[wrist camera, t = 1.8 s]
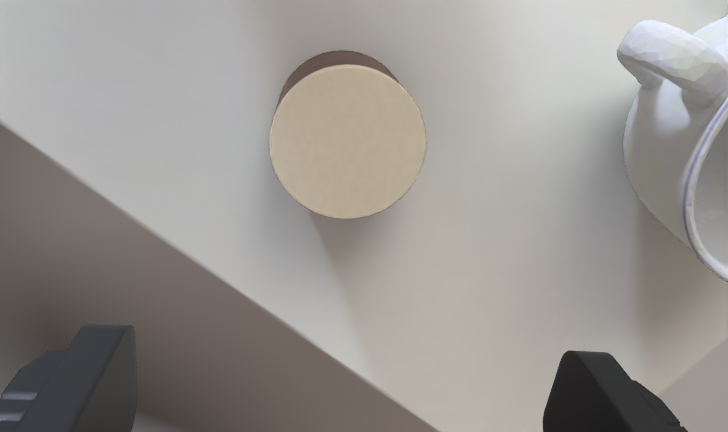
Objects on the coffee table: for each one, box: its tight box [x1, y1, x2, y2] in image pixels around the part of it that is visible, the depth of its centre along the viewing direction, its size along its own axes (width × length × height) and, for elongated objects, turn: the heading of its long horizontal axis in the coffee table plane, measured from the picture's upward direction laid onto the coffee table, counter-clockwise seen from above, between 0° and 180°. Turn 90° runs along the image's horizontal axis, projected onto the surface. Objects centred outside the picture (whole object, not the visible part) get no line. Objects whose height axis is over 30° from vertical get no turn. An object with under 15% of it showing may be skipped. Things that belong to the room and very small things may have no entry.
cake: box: [269, 51, 426, 219], centre depth 23 cm, size 6×6×5 cm
